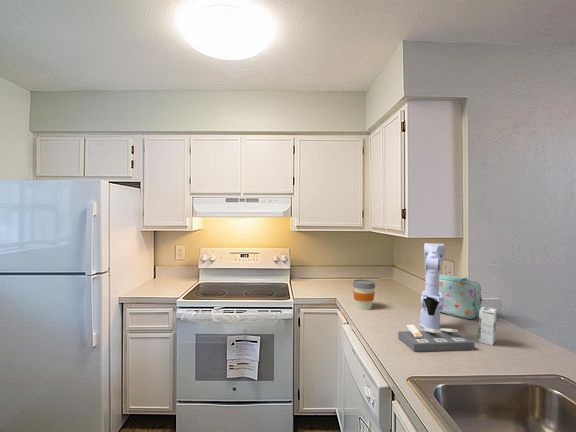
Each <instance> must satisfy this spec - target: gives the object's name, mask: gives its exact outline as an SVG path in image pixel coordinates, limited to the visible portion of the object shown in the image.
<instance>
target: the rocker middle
mask: <svg viewBox="0 0 576 432" xmlns="http://www.w3.org/2000/svg"><path fill="white" fill-rule="evenodd" d="M423 331H428V332H432V333H441V331H440V330H435V329H424V328H423Z"/></svg>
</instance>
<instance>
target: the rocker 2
mask: <svg viewBox="0 0 576 432" xmlns="http://www.w3.org/2000/svg"><path fill="white" fill-rule="evenodd" d="M440 329H441V331H448V332H458V333H459V329H456V328H444V327H440Z"/></svg>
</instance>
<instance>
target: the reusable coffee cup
mask: <svg viewBox="0 0 576 432" xmlns="http://www.w3.org/2000/svg"><path fill="white" fill-rule="evenodd" d="M352 286H353V290H352V293H353V299H354V303H355V308H356V309H357V310H363V311H369V310H371V309H372V307H373V301H374V300H375V299H374V297H375V288H376V283H375V281H374V280H370V279H354V280H353V283H352Z"/></svg>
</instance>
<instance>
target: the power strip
mask: <svg viewBox="0 0 576 432" xmlns="http://www.w3.org/2000/svg"><path fill="white" fill-rule="evenodd" d="M418 331H419V332H420V333H421V335H422V336H423V337H422V338H415V337H414V336H413V334H412V333H411V332H410V330H406V331H405V330H403V331H402V330H401V331H398V332H397V333H398V336H397V339H399V341H401V342H402V343H403V344H404V345H406V347H408V348H409V349H410V350H411V351H413V352H414V353H415V352H416V353H417V352H418V353H419V352H441V351H442V352H446V351H470V350H471V351H472V350H473V351H474V350H475V341H472V340H471V339H469V338H467V337H466V336H465V335H463V334H461V333H459V331H458V332H448V331H441V330H440V331H441V333H432V332H428V331H424V330H418Z"/></svg>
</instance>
